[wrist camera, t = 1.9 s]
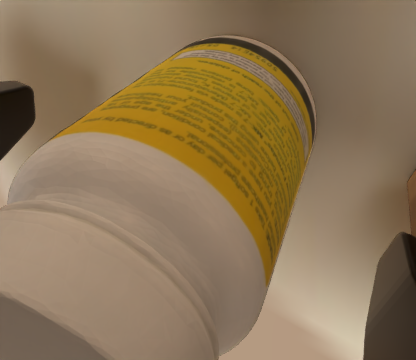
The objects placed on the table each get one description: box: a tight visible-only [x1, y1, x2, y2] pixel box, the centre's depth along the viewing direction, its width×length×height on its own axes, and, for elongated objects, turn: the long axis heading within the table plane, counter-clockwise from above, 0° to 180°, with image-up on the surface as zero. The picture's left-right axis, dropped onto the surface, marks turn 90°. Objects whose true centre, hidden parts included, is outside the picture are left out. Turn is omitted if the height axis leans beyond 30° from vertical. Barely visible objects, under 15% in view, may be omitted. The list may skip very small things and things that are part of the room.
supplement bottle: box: [0, 35, 316, 360], centre depth 8 cm, size 5×5×8 cm
